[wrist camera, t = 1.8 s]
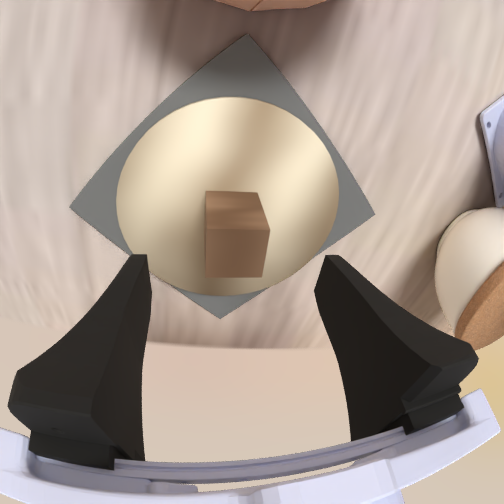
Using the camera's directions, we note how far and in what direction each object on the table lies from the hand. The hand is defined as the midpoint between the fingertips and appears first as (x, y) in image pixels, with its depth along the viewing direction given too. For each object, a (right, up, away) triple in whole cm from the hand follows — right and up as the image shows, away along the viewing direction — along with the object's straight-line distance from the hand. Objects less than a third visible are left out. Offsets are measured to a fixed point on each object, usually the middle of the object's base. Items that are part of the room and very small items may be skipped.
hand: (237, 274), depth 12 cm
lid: (-1, +3, +4) cm, 6 cm away
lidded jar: (+18, +2, +9) cm, 21 cm away
